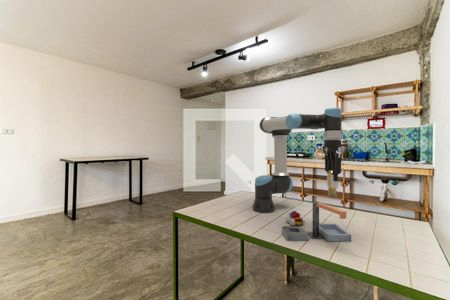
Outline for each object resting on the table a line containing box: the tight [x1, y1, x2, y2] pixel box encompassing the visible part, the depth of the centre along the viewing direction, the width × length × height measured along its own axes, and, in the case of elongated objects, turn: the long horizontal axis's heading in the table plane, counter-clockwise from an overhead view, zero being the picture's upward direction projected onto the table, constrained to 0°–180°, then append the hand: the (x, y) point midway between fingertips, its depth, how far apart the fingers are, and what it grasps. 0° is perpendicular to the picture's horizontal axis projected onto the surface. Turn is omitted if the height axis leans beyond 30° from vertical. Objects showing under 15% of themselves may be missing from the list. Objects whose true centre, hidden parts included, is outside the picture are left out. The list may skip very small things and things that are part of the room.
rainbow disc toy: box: [285, 210, 306, 226], centre depth 122 cm, size 8×10×7 cm
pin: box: [327, 170, 337, 199], centre depth 106 cm, size 4×4×13 cm
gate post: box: [306, 205, 325, 240], centre depth 105 cm, size 6×6×16 cm
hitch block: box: [281, 225, 309, 242], centre depth 106 cm, size 10×10×3 cm
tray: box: [319, 223, 352, 243], centre depth 106 cm, size 14×11×3 cm
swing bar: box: [312, 201, 347, 220], centre depth 98 cm, size 3×18×3 cm, turn 21°
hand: (332, 186), depth 106 cm, fingers closed on pin, 4 cm apart
